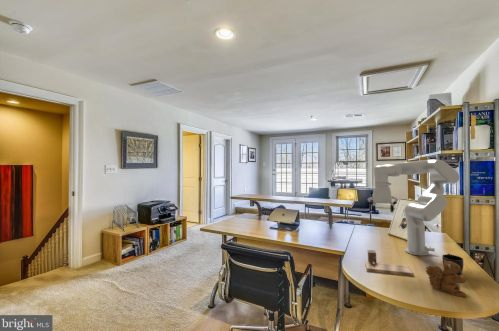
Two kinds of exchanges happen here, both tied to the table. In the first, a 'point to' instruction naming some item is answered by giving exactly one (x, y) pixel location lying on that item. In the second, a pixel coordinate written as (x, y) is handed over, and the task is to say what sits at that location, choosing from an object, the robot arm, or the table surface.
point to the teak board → (389, 268)
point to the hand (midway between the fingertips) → (383, 211)
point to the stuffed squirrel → (446, 278)
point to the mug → (454, 259)
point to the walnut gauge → (372, 256)
